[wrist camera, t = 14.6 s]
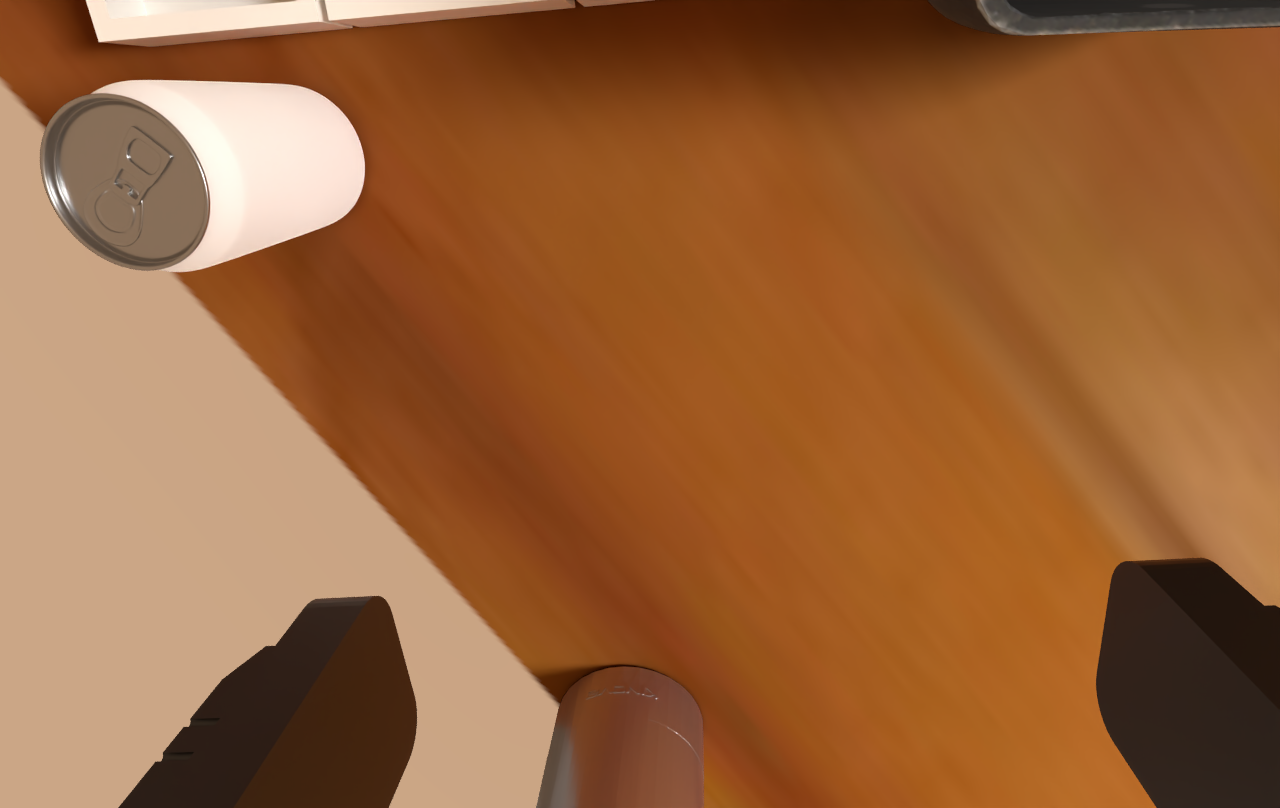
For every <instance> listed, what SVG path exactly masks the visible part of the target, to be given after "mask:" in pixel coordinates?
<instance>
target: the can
mask: <svg viewBox="0 0 1280 808" xmlns="http://www.w3.org/2000/svg"><path fill="white" fill-rule="evenodd" d="M40 167H41V174H42V179H43V183H44V187H45V190H46V193H47V195H48V198H49V200H50V202H51V204H52V206H53V208H54V210H55V212H56V213H57V215H58V216H59V218H60V219H61V221H62V222H63V224H64V225H65V226H66V228H68V230H69V231H70V232H71V233H72V234H73V235H74V237H76V238H77V239H78V240H79V241H80V242H81V243H82V244H83V245H84V246H85V247H87V248H88V249H89V250H91V251H92V252H94V253H95V254H97V255H98V256H100V257H102V258H104V259H105V260H107V261H109V262H112V263H114V264H117V265H119V266H122V267H126V268H130V269H135V270H162V271H169V272H188V271H194V270H199V269H203V268H207V267H210V266H214V265H217V264H220V263H223V262H226V261H229V260H232V259H234V258H237V257H240V256H243V255H246V254H249V253H252V252H255V251H258V250H261V249H263V248H266V247H269V246H272V245H275V244H278V243H281V242H283V241H286V240H289V239H292V238H295V237H298V236H300V235H303V234H306V233H309V232H312V231H314V230H317V229H320V228H322V227H325V226H327V225H330V224H332V223H334V222H336V221H338V220H339V219H341V218H342V217H344V216H345V215H346V214H347V213H348V212H349V211H350V210H351V209H352V207H353V206H354V205H355V203H356V202H357V200H358V198H359V196H360V193H361V190H362V187H363V183H364V176H365V163H364V155H363V151H362V147H361V144H360V141H359V138H358V136H357V134H356V132H355V130H354V128H353V126H352V125H351V123H350V122H349V120H348V119H347V117H346V116H345V115H344V114H343V113H342V111H341V110H340V109H339V108H338V107H337V106H336V105H334V104H333V103H332V102H331V101H330V100H328V99H327V98H325V97H324V96H322V95H320V94H319V93H317V92H315V91H312V90H310V89H307V88H304V87H300V86H295V85H287V84H270V83H243V82H211V81H174V80H132V81H123V82H117V83H113V84H110V85H107V86H104V87H102V88H100V89H98V90H96V91H95V92H93V93H91V94H89V95H84V96H81V97H78V98H76V99H74V100H72V101H70V102H68V103H67V104H65V105H64V106H63V107H61V108H60V109H59V110H58V111H57V112H56V113H55V114H54V116H53V117H52V118H51V120H50V122H49V123H48V125H47V127H46V129H45V132H44V135H43V139H42V143H41V149H40Z"/></svg>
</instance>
